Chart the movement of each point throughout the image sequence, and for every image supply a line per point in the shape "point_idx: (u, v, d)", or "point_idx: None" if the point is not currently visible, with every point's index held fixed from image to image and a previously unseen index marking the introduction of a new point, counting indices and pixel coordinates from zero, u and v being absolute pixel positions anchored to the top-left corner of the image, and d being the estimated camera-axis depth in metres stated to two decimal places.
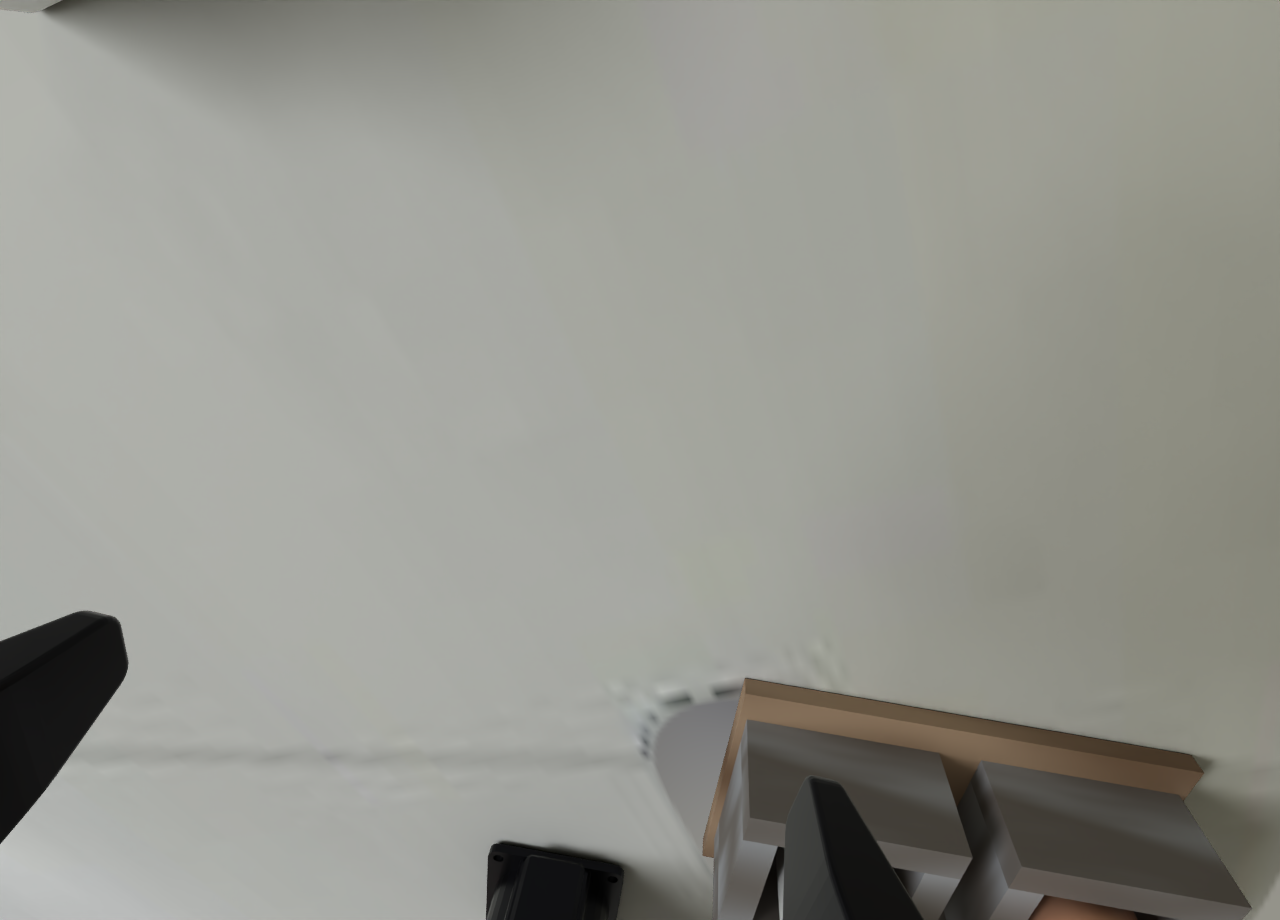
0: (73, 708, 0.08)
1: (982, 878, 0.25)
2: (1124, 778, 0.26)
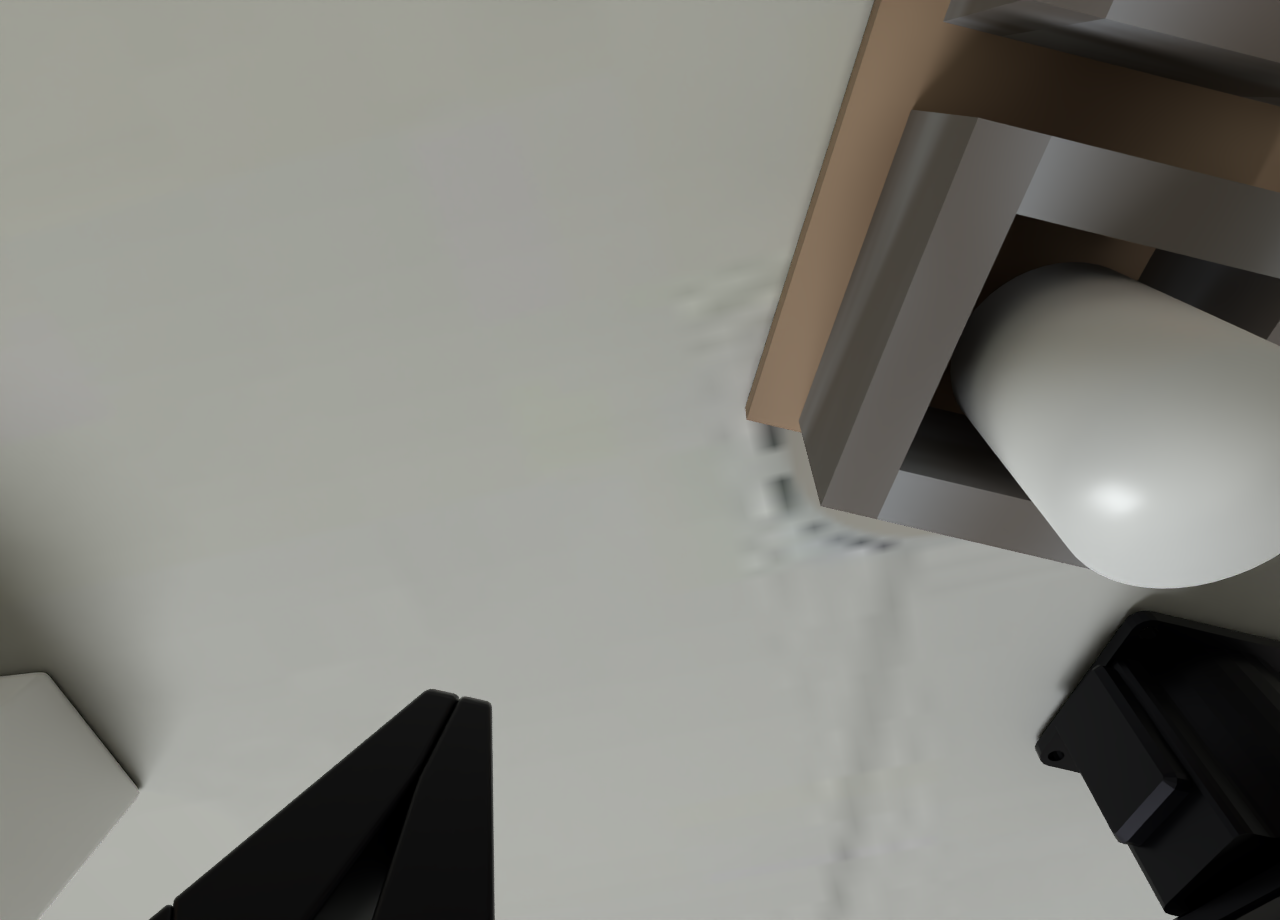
0: None
1: (1150, 45, 0.11)
2: None
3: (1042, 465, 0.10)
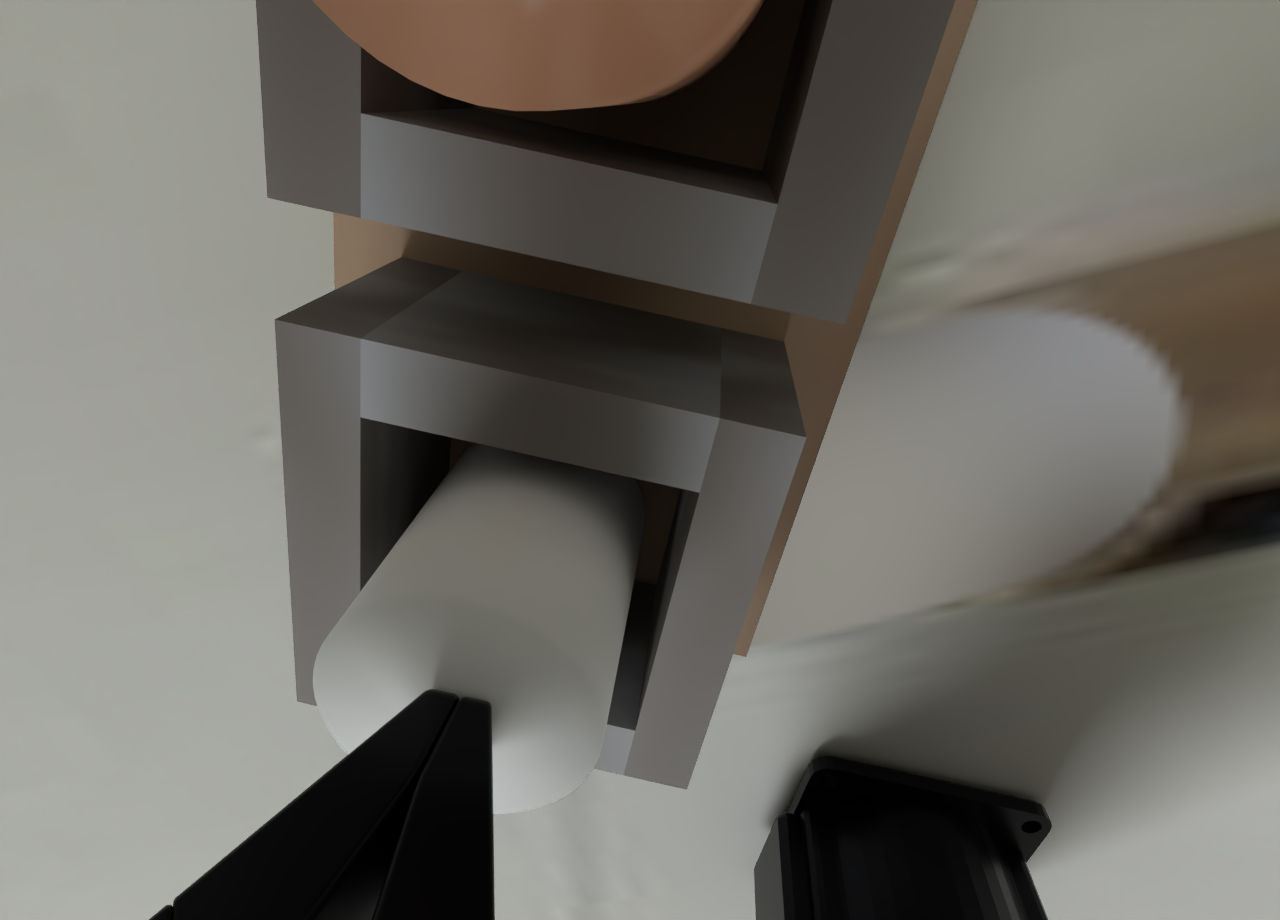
0: None
1: None
2: None
3: None
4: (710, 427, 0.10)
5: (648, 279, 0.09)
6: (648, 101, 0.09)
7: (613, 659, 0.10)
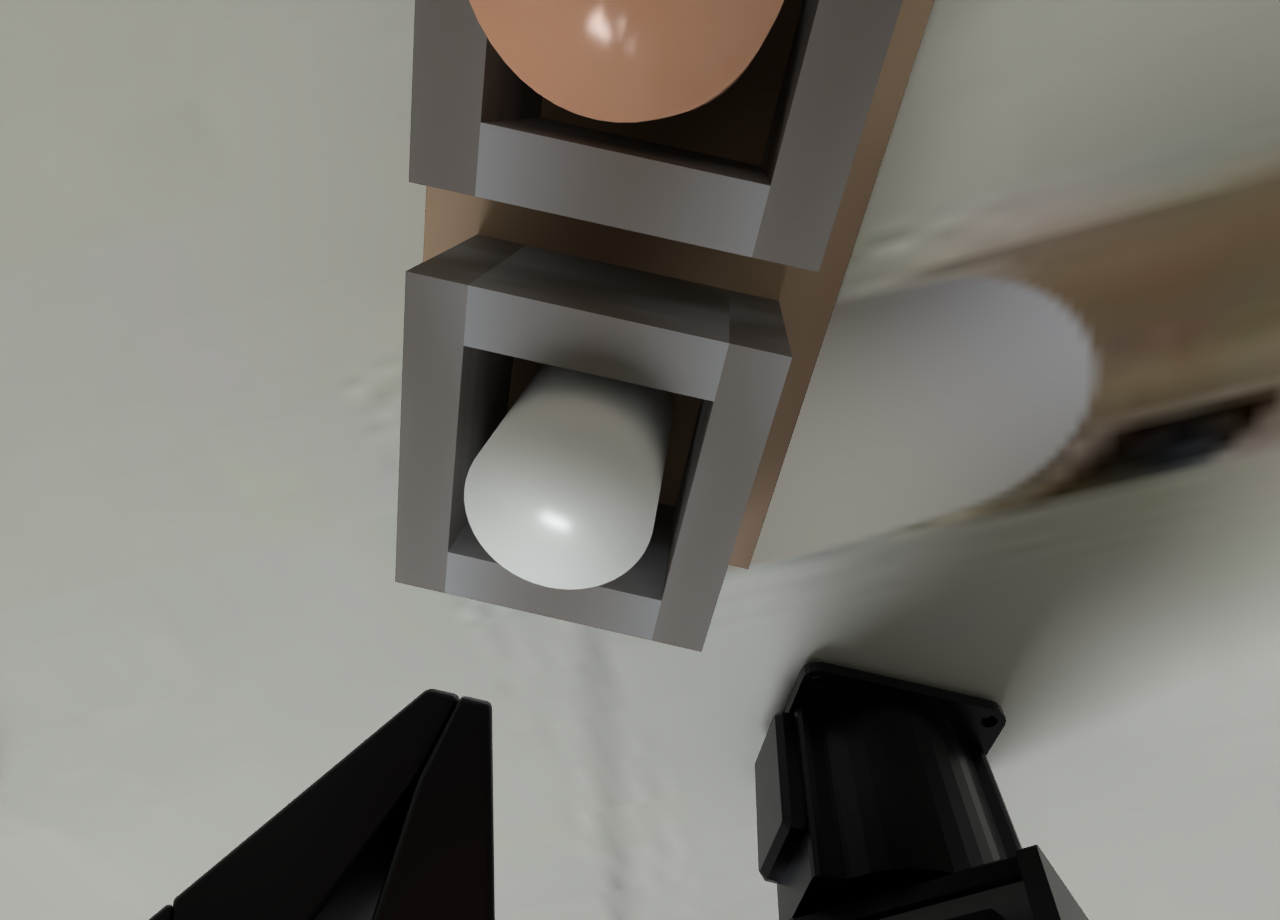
0: None
1: None
2: None
3: None
4: (722, 350, 0.13)
5: (679, 240, 0.12)
6: None
7: (658, 482, 0.14)
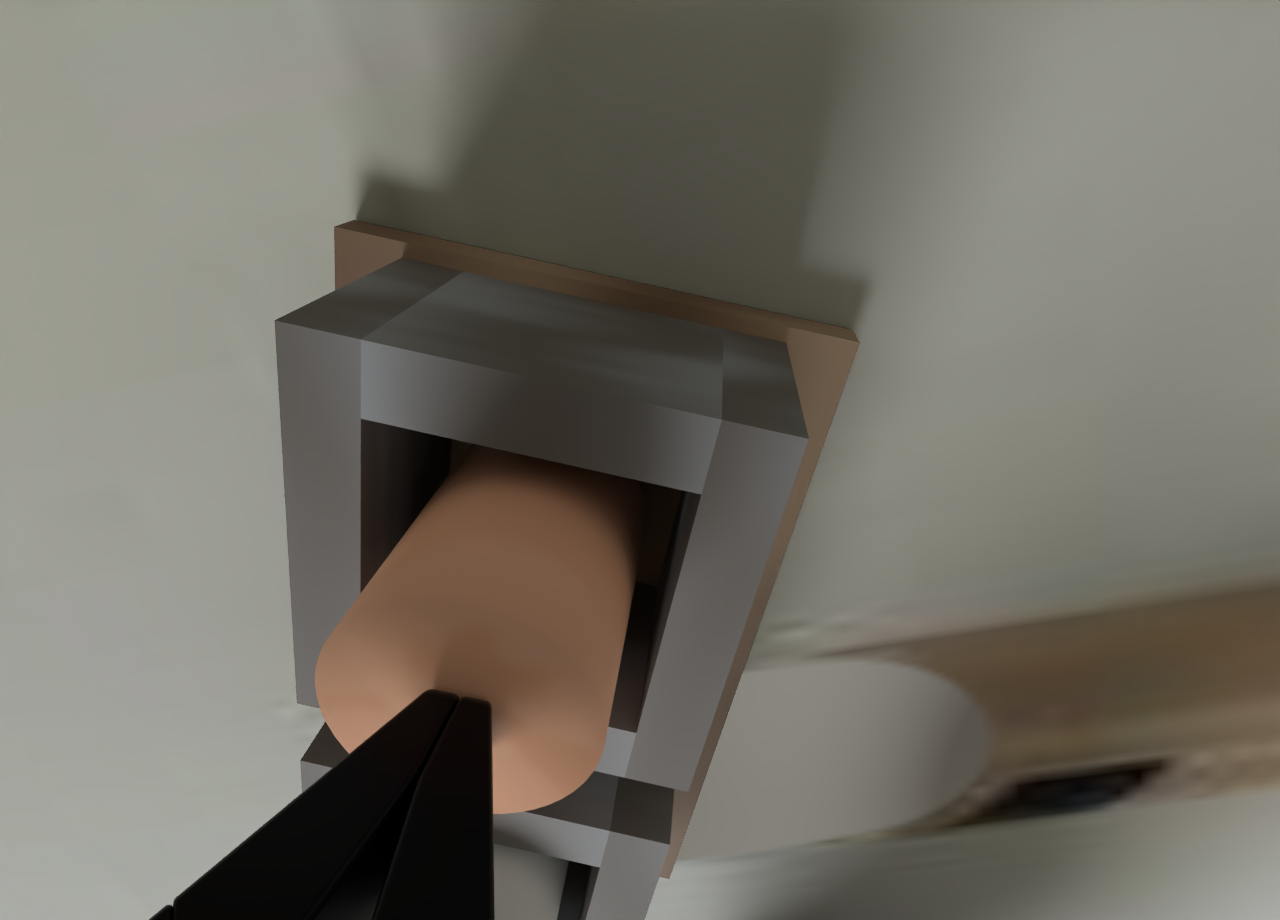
0: None
1: None
2: None
3: None
4: (603, 835, 0.14)
5: None
6: None
7: None
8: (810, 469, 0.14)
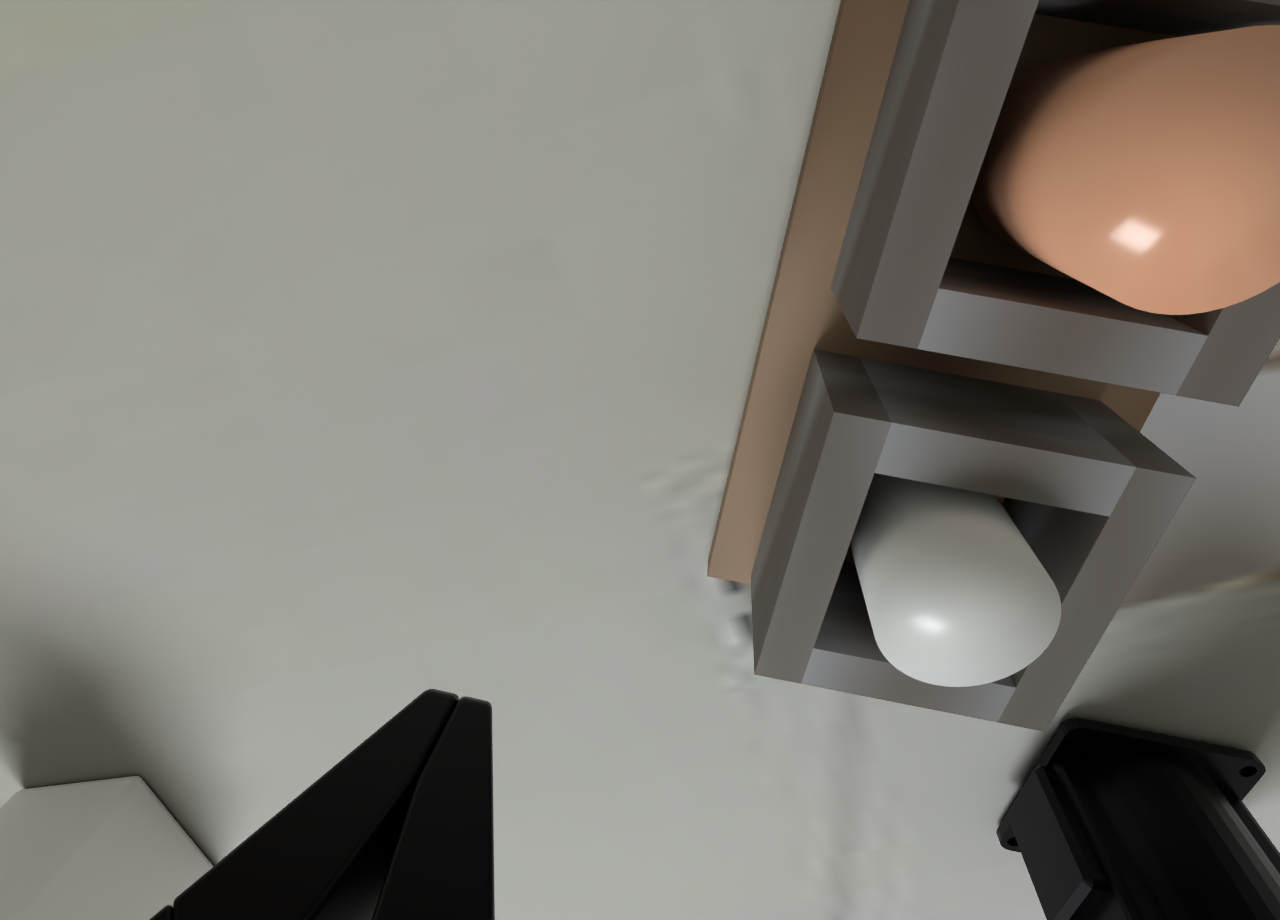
0: None
1: None
2: (879, 44, 0.15)
3: (869, 609, 0.16)
4: (1128, 473, 0.14)
5: (1104, 381, 0.14)
6: None
7: None
8: None
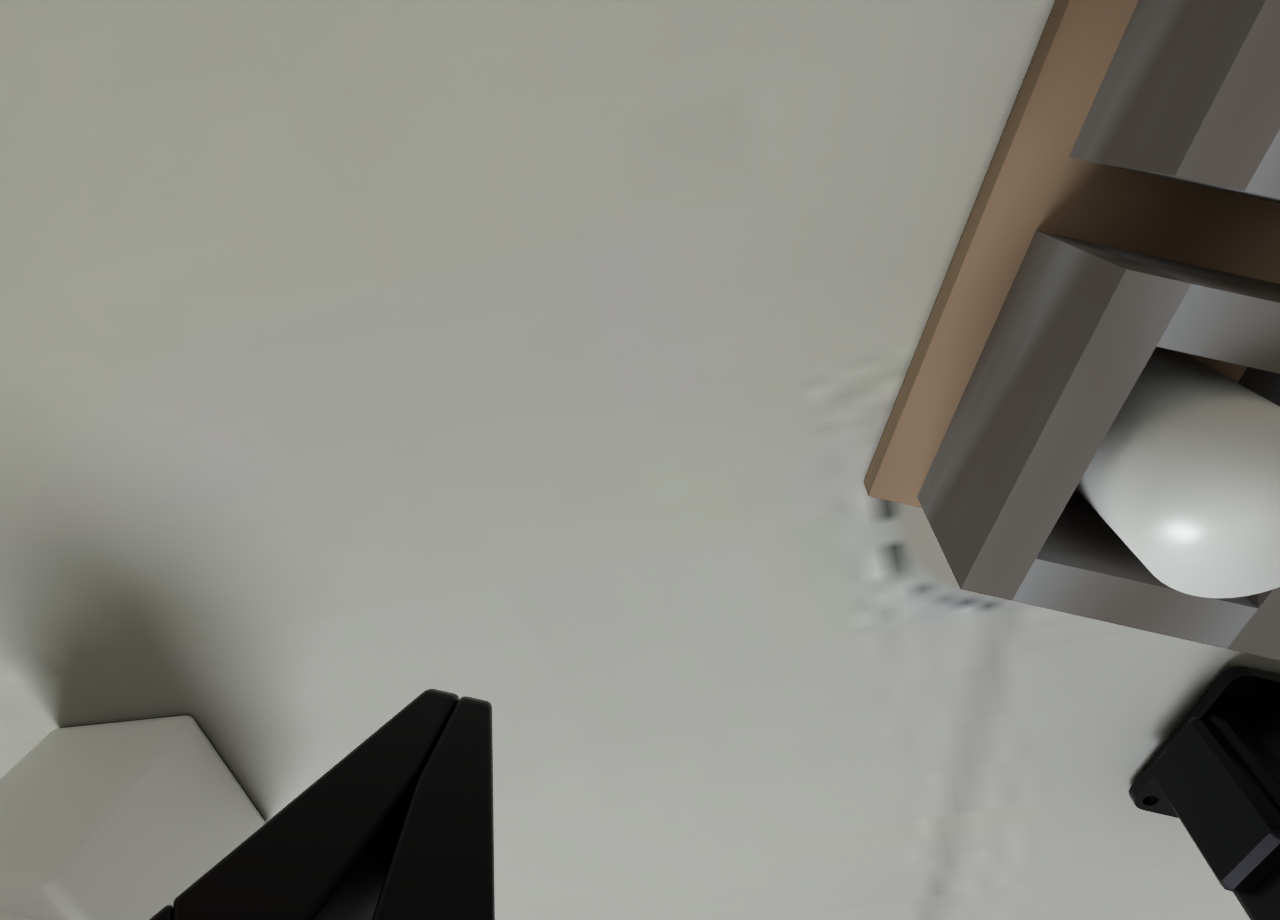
0: None
1: (1276, 199, 0.13)
2: None
3: (1127, 507, 0.14)
4: None
5: None
6: None
7: None
8: None
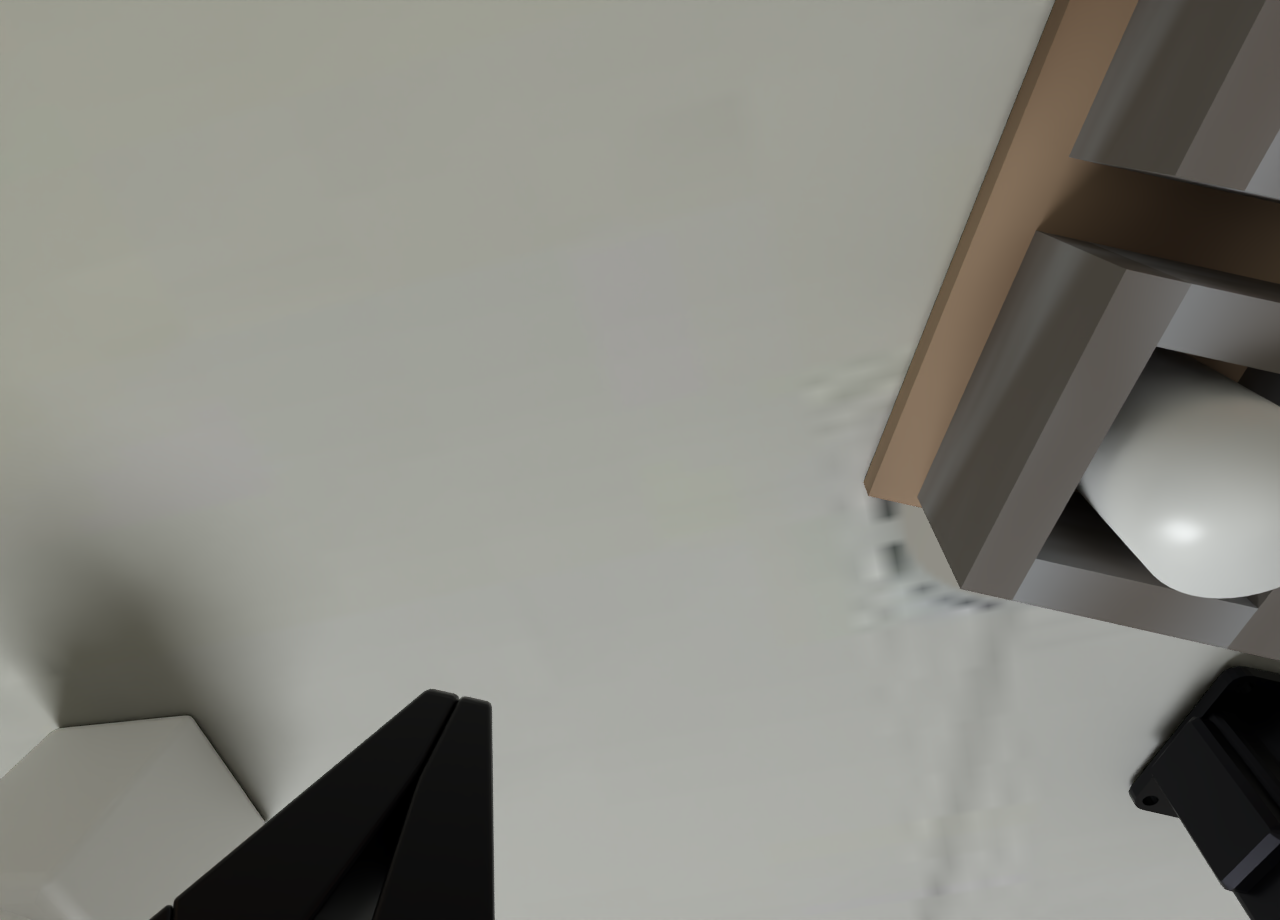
0: None
1: (1276, 199, 0.13)
2: None
3: (1127, 507, 0.14)
4: None
5: None
6: None
7: None
8: None
